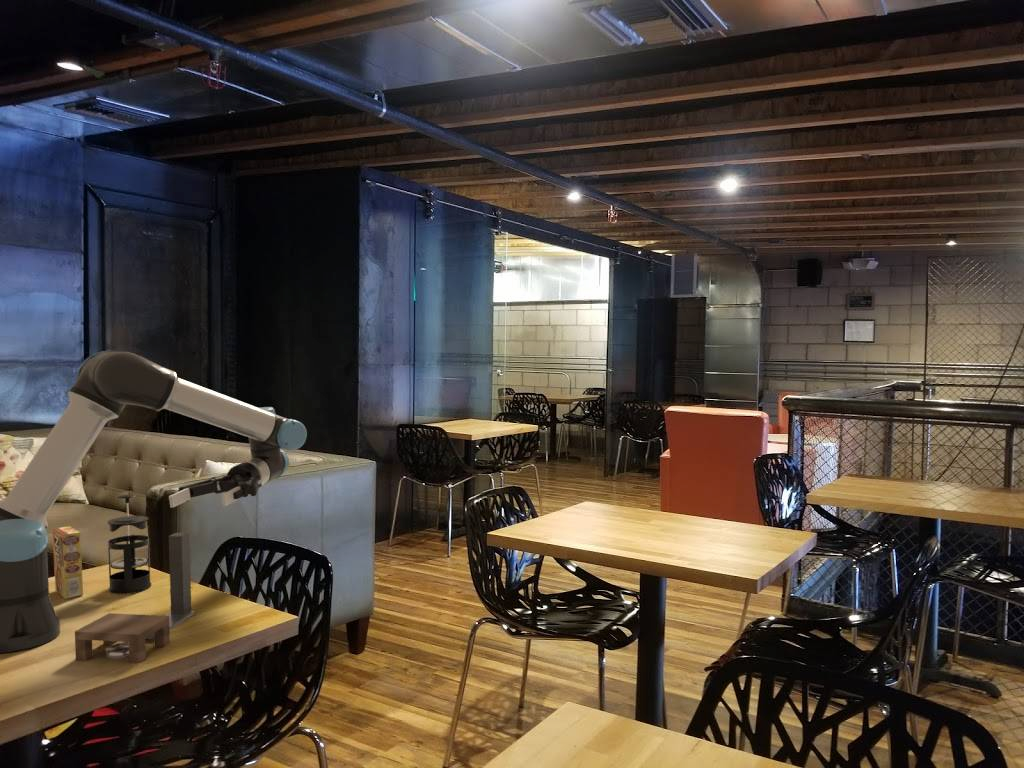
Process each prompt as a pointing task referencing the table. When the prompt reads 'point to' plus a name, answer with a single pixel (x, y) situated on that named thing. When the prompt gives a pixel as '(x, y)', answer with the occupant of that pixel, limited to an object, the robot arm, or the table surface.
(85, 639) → the stand
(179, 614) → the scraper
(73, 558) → the candy box
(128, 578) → the french press
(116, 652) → the disc
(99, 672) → the table surface
